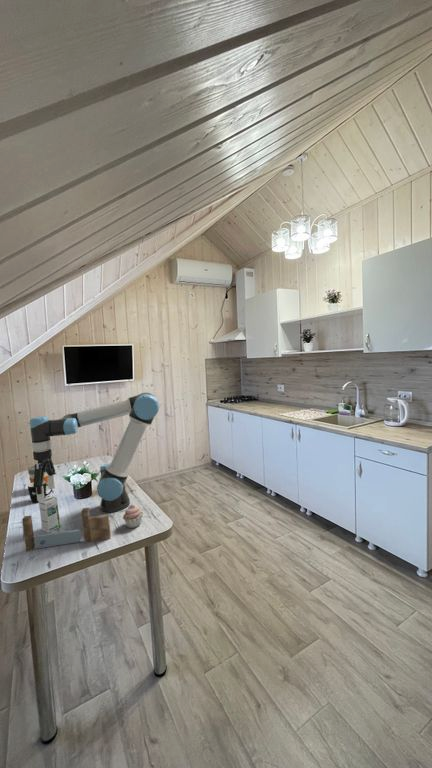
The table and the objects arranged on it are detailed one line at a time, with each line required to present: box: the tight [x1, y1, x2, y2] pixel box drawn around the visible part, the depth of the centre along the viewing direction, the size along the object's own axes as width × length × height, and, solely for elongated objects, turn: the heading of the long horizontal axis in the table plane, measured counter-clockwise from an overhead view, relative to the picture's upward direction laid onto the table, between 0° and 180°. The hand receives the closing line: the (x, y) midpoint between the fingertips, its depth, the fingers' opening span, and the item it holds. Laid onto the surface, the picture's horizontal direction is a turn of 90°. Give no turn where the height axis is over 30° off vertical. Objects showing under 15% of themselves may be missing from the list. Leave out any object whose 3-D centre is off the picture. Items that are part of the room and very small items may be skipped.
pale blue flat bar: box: [34, 528, 82, 549], centre depth 135 cm, size 18×2×5 cm, turn 99°
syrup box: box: [38, 496, 61, 534], centre depth 149 cm, size 6×6×14 cm
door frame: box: [21, 507, 112, 552], centre depth 136 cm, size 34×2×14 cm, turn 99°
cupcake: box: [122, 503, 144, 529], centre depth 148 cm, size 9×9×10 cm
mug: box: [27, 481, 53, 504], centre depth 184 cm, size 12×9×10 cm
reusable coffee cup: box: [27, 464, 50, 492], centre depth 200 cm, size 13×13×15 cm
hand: (46, 494), depth 149 cm, fingers open, 13 cm apart
